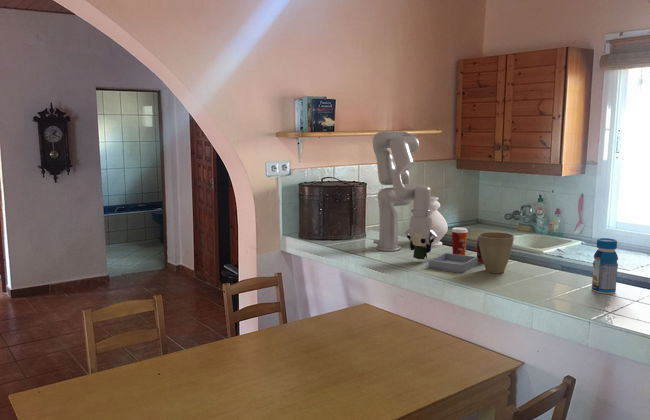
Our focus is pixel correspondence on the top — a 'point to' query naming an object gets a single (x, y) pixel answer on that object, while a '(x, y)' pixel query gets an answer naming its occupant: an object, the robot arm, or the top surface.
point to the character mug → (419, 246)
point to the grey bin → (453, 262)
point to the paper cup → (459, 240)
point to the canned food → (479, 252)
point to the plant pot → (495, 250)
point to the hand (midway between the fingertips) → (420, 250)
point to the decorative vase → (437, 221)
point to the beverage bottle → (605, 266)
